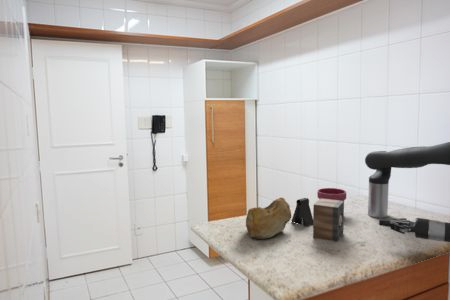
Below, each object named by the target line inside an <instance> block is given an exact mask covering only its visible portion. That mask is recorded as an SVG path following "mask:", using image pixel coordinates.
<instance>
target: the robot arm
mask: <svg viewBox="0 0 450 300" xmlns="http://www.w3.org/2000/svg"><path fill="white" fill-rule="evenodd" d="M364 163H365V165H366V167H367V168H368V169H370V170H375V172H374V173H373V174H371V175H370V176H369V177H368V196H367V199H368V200H367V201H368V202H367V215H368V216H369V217H372V218H379V221H378V224H379V225H378V226H382V227H389V229H391V231H395V232H397V233H400V234H402V235H404V234H406V233H407V234H410V233H413V234H414V238H417V239H422V240H428V241H429V240H430V241H436V242H446V243H450V222H446V221H440V220H436V219H429V218H423V217H422V218H421V217H416V218H415V221H411V220H409V219H407V218H405V217H402V218H392V219H390V220H388V219H383V218H388V214H389V212H388V209H389V183H390V178H391V176H392V173H391V172H392V168H393V169H394V168H395V169H417V168H422V167H425V166H428V165H445V166H450V141H449V142H444V143H440V144H435V145H431V146H411V147H403V148H398V149H393V150H390V151H386V150H382V151H381V150H378V151H377V150H376V151H371V152H368V153H367V155H366V156H365V158H364Z"/></svg>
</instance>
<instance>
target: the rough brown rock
mask: <svg viewBox="0 0 450 300" xmlns="http://www.w3.org/2000/svg"><path fill="white" fill-rule="evenodd" d="M291 220H292V211H291V208H290V204H289V203H288V202H287V201H286V199H285V198H284V197H279V198H276V199H274V200H273V201H272V202H271V203H270V204H269V205H268V206H266V207H261V206H257V207H252V208H249V209H248V211H247V215H246V218H245V227H246V230H247V233H248V235H249V236H250V238H255V239H258V238H259V240H262V239H269V238H272V237H274V236H275V235H276V234H280V232H283V231H284V230H285V228H286V225H287V223H289V222H290V221H291Z"/></svg>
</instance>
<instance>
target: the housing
mask: <svg viewBox="0 0 450 300" xmlns="http://www.w3.org/2000/svg"><path fill="white" fill-rule="evenodd" d="M312 208H313V211H312V212H313V213H312V217H313V224H312V225H313V226H312V228H313V229H312V238H313V239H319V240H324V241H330V242H335V243H339V240H340V238H342V236H343V235H344V225H345V224H344V222H345V221H344V220H345V219H344V217H345V200H344V201H340V200H331V199H322V198H321V199H320V200H319V199H318V200H317V201H316V202H315V203H314V204H313V207H312ZM340 215H342V223H341V226H340V225H339V220H340Z"/></svg>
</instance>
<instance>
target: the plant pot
mask: <svg viewBox="0 0 450 300" xmlns="http://www.w3.org/2000/svg"><path fill="white" fill-rule="evenodd" d="M316 193H317V194H316V195H317V198H318V200H320V199H321V198H322V199H331V200H340V201H344V202H345V200H347V191H346V190H345V189H342V188H337V187H336V188H335V187H334V188H333V187H326V188H319V189H318V190H317V192H316Z"/></svg>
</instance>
